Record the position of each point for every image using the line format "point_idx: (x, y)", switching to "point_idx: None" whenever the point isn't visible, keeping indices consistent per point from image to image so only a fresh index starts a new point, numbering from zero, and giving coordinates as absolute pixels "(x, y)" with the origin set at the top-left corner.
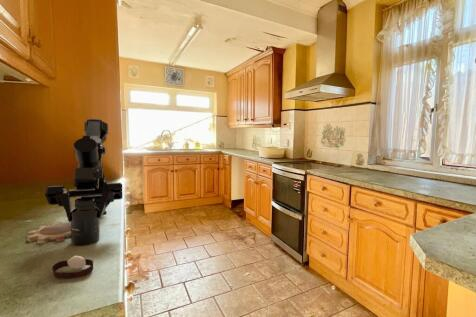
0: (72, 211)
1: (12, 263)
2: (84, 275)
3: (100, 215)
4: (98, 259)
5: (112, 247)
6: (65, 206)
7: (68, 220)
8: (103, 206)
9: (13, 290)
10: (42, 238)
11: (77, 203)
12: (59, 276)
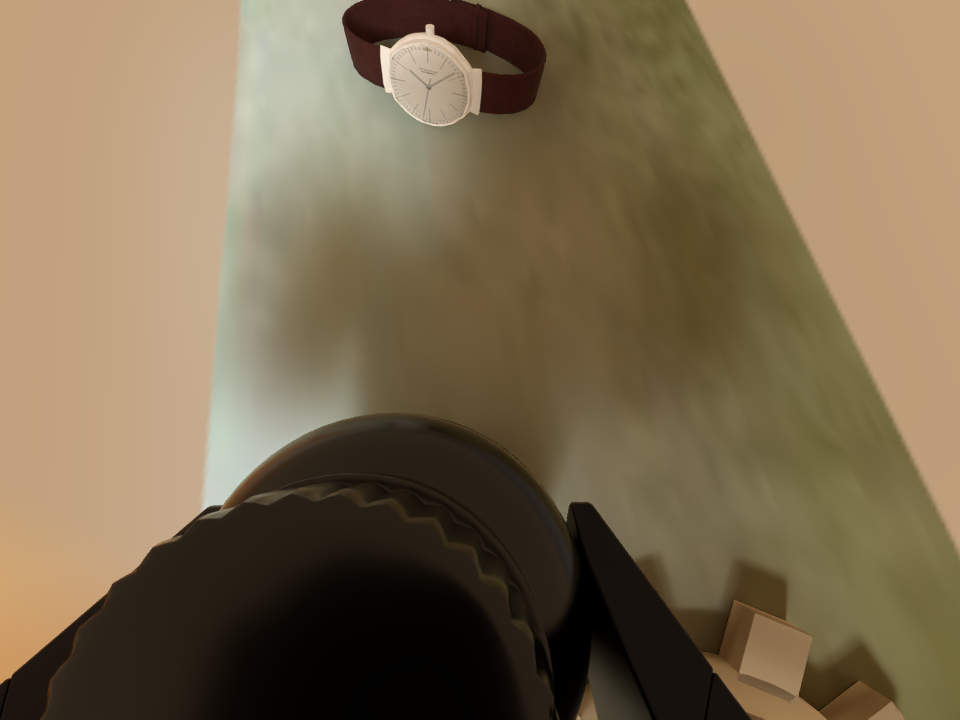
0: (561, 565)
1: (801, 310)
2: (393, 34)
3: (200, 514)
4: (336, 183)
5: (254, 326)
6: (729, 714)
7: (584, 505)
8: (50, 645)
9: (666, 24)
10: (774, 632)
11: (471, 537)
12: (501, 39)
